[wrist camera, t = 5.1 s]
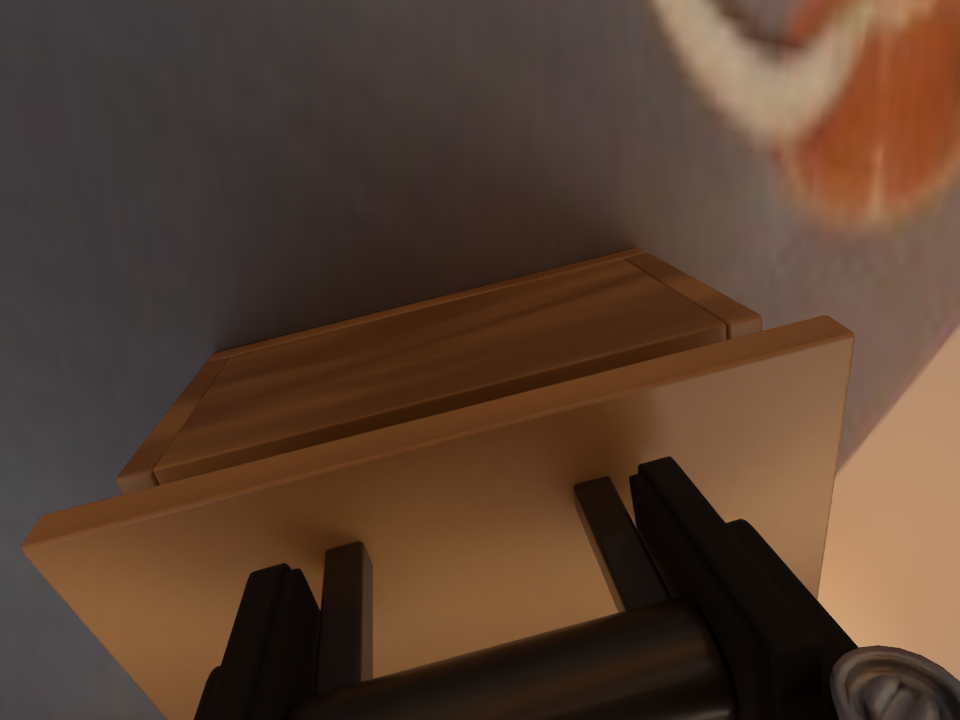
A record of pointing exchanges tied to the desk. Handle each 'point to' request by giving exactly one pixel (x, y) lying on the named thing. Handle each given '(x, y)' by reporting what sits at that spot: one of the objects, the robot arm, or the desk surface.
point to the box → (432, 361)
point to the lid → (478, 543)
